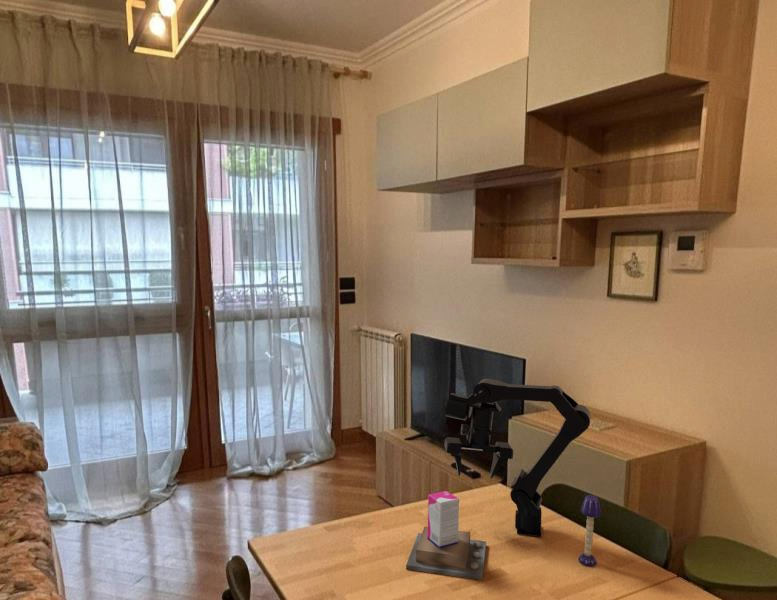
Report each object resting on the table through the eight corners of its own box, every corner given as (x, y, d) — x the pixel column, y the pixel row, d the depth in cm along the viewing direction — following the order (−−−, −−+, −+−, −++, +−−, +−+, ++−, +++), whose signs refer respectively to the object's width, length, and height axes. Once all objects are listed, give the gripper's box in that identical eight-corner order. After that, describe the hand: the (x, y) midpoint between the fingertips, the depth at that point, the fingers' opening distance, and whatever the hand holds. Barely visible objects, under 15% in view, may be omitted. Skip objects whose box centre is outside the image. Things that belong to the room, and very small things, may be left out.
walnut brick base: (486, 545, 140) (486, 530, 140) (482, 580, 124) (482, 563, 124) (418, 536, 144) (418, 521, 144) (406, 569, 129) (406, 552, 128)
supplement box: (459, 543, 133) (459, 498, 132) (439, 549, 130) (439, 503, 129) (445, 533, 138) (446, 489, 137) (426, 538, 135) (427, 494, 134)
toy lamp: (598, 559, 134) (601, 494, 132) (599, 569, 129) (602, 502, 128) (578, 556, 135) (580, 491, 134) (578, 565, 131) (580, 499, 130)
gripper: (507, 417, 160) (500, 467, 161) (445, 411, 159) (439, 462, 161) (517, 430, 148) (509, 484, 150) (450, 424, 148) (443, 478, 150)
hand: (474, 476), depth 153 cm, fingers open, 9 cm apart
